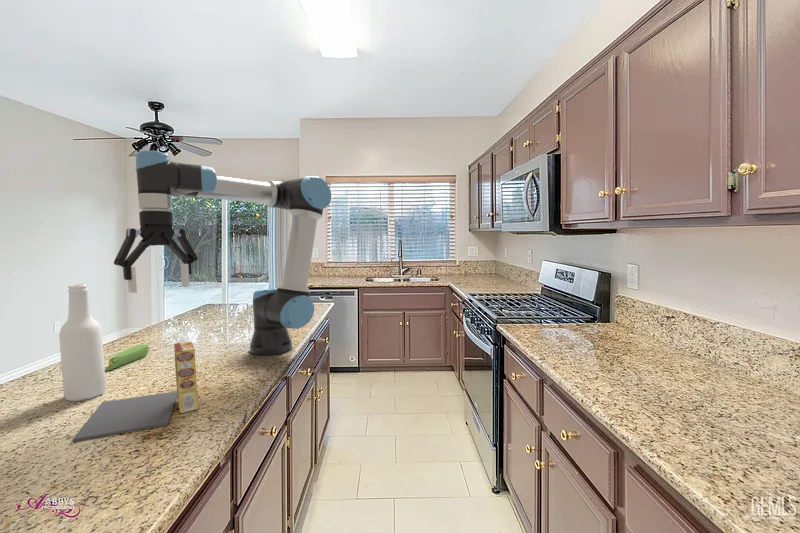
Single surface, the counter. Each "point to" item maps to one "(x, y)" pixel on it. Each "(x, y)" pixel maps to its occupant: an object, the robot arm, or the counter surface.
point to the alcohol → (81, 349)
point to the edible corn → (128, 356)
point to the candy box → (186, 376)
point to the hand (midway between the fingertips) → (160, 289)
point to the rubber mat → (129, 415)
